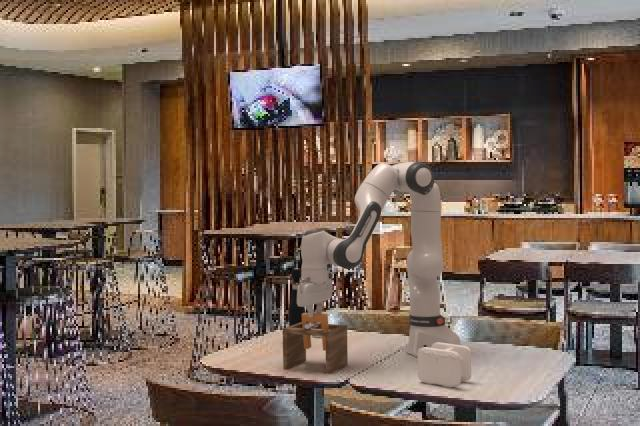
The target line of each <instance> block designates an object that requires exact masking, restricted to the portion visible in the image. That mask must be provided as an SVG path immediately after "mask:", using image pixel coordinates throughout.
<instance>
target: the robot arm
mask: <svg viewBox="0 0 640 426" xmlns="http://www.w3.org/2000/svg"><path fill="white" fill-rule="evenodd" d="M394 192H401V193H409V195H410V199H411V206H410V208H411V209H410V237H411V246H412V249H411V250H410V251H409V252H408V255H407V257H406V269H407V280H408V281H407V282H408V286H409V287H408V288H409V309H410V310H409V313H410V314H409V315H408V316H409V317H408V327H409V328H408V329H409V334H408V335H409V336H408V343H407V348H406V351H405V352H406V353H407V354H409V355H412V356H413V357H415V358H418V350H419V349H420V348H423V347H429V348H431V347H432V345H433V344H434V343H437V342H440V343H448V344H455V345H462V342H461V338H460V336H459V335H458V334H457V333H456V332H454V331H453V330H452V329H451V328H450V327H448V326H447V325H446V320H447V316H443V314H441V293H440V288H439V283H438V277H439V276H441V274H442V273H443V270H444V265H445V264H444V257H443V245H442V243H443V242H442V235H441V232H442V231H441V230H442V229H441V224H442V223H441V222H442V200H441V193H440V192H441V191H440V186H439V185H438V184H437V183H436V182H435V179H434V174H433V171H432V169H431V167H430V166H429V165H428V164H425V163H423V162H420V161H416V162H415V161H404V162H396V163H393V164H389V163H384V162H383V163H379V164H377V165H375V166H374V168H373V169H371V171H370V172H369V174H367V175H366V177H364V180H363V181H362V183H361V184H360V186H359V188H358V189H357V191H356V193H355V196H354V204H355V207H356V208H357V210H358V211H359V214H360V215H359V218H358V220H357V222H356V224H355V225H354V227H353V230H352V232H351V233H350V234H349V236H348V237H346V238H339V237H337V236H333V235H331V234H330V233H328V232H327V231H325V230H324V229H323V228H316V229H315V228H314V229H310V230H308V231H305V232H304V233H303V234H302V236H301V237H302V238H301V243H300V244H301V245H300V246H301V248H300V254H301V259H302V263H301V268H300V269H301V280H300V283H298V284H299V286H298V289H297V305H298V306H300V307H305V310H306V311H307V313H308V317H311V318H312V317H314V316H315V315H314V314H315V313H319V314H322V312H323V311H322V310H323V306H324V302H325V301H329V300H331V299H332V296H333V279H334V274H333V272H331V271H329V270H328V265H332V266H337V267H340V268H342V269H345V270H353V269H356V268H357V267H358V266H359V265H360V264H361V263H362V261H363V259H364V254H365V250H366V246H367V244H368V242H369V240H370V239H371V236H372V234H373V233H374V230H375V229H376V226H377V224H378V223H379V220H380V218H381V215H382V211H383V209H384V207H385V206H386V203H387V202H388V200H389V199H390V198H391V195H392V194H393V193H394ZM314 305H316V309H315V310H314Z"/></svg>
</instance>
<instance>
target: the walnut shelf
mask: <svg viewBox="0 0 640 426" xmlns="http://www.w3.org/2000/svg"><path fill="white" fill-rule="evenodd" d="M328 326H329V331H328V330H316V329H321V325H320V326H317V327H314V328H312V329H309V330H305V329H303V327H302V322H300V323H297V324H295V325H292V326H289V325H288V326H286V327H283V328H282V363H283V364H282V366H283V370H289V369H290V368H293V367H296V366H297V365H300V364H303V363H305V362H306V361H307V349H304V340H303V335H310V336H311V337H312V336H324V337H325V342H326V351H325V374H327V373H328V374H329V375H331V374H333V373H334V371H335V372H337V371H338V369H339V370H340V368H341V369H342V367H343V368H344V366H345V367H346V365H347V366H348V364H349V363H348V361H349V359H348V356H349V355H348V354H349V353H348V325H345V324H332V323H328ZM304 361H305V362H304ZM295 365H296V366H295ZM336 370H337V371H336ZM332 372H333V373H332Z"/></svg>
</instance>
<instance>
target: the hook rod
mask: <svg viewBox="0 0 640 426" xmlns="http://www.w3.org/2000/svg"><path fill="white" fill-rule="evenodd" d="M320 325H321V322H309V323H308V324H306V325H304V329H305V330H309V329H312V328H314V327H317V326H320Z"/></svg>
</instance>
